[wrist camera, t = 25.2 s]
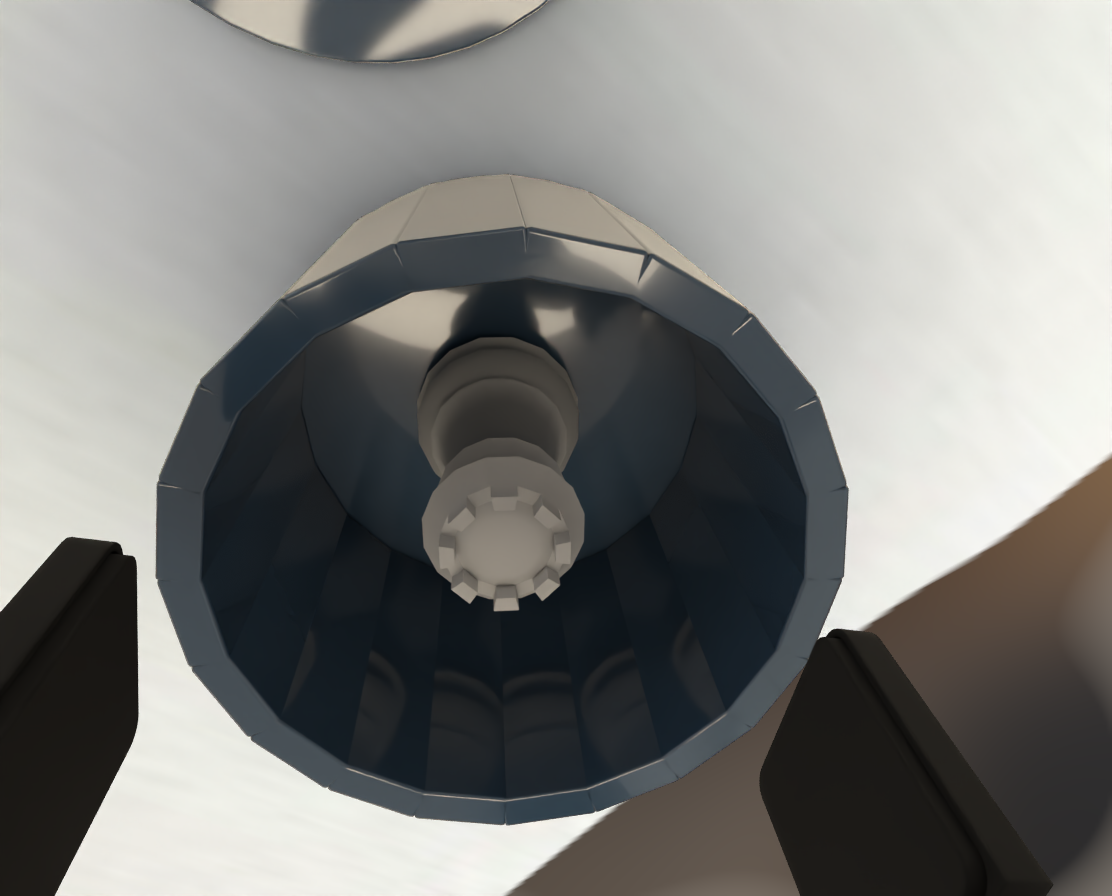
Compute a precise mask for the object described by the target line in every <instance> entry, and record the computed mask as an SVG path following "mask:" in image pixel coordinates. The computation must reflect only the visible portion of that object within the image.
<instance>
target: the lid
mask: <svg viewBox="0 0 1112 896" xmlns="http://www.w3.org/2000/svg"><path fill="white" fill-rule="evenodd" d="M190 1H191V2H193V3H194V4H196V5H198V6H199V7H201V8H203V9H204V10H206V11H208V12H209V13H211V14H213V15H214V16H216V17H218V18H219V19H221V20H223V21H224V22H226V23H228V24H229V25H231V26H233V27H235V28H237V29H240V30H242V31H244V32H246V33H249V34H251V35H253V36H255V37H258V38H260V39H262V40H264V41H267V42H269V43H271V44H274V45H278V46H281V47H284V48H288V49H291V50H294V51H298V52H301V53H304V54H308V55H311V56H316V57H322V58H328V59H334V60H341V61H347V62H354V63H402V62H409V61H417V60H424V59H432V58H436V57H439V56H443V55H446V54H450V53H453V52H457V51H460V50H464V49H467V48H470V47H473V46H475V45H477V44H479V43H481V42H484V41H486V40H488V39H490V38H493V37H495V36H497V35H499V34H501V33H504V32H505V31H507V30H509V29H510V28H512V27H513V26H515V25H516V24H518V23H520V22H521V21H523V20H524V19H526V18H527V17H529V16H530V15H532V14H534V13H535V12H537V11H538V10H539V9H540V8H542V7H543V6H544V5H545V4H546V3H548V2H549V1H550V0H190Z"/></svg>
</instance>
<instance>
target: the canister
mask: <svg viewBox="0 0 1112 896" xmlns="http://www.w3.org/2000/svg"><path fill="white" fill-rule="evenodd" d="M494 337H514V338H516V339H519V340H522V341H524V342H527V343H529V344H532V345H534V346H537V347H540V348H542V349H544V350H545V351H546V352H547V353H548V354H549V355H550V356H551V357H552V358H553V359H554V360H555V361H557V362H558V363H559V364H560V365H561V366H562V367H563V368H564V369H565V370H566V372H567V374H568V376H569V379H570V381H571V384H572V386H573V388H574V391H575V393H576V396H577V398H578V409H579V420H578V441H577V443H576V445H575V447H574V449H573V451H572V454H571V456H570V458H569V460H568V462H567V464H566V467H565V469H564V470H563V471H562V472H561V473H562V475H563V477H564V480H565V481H566V482H567V483H568V484H569V485H571V486H572V487H573V489H574V491H575V493H576V496H577V498H578V500H579V502H580V505H581V507H582V509H583V511H584V514H585V516H584V543H583V545H582V547H581V549H580V551H579V553H578V555H577V557H576V559H575V561H574V563H573V565H572V567H571V568H570V569H569V570H568V571H567V572H566V573H564V574H563V575H562V576H561V577H560V578H559V580H560V586H559V587H558V588H557V589H555V590H554V591H553V592H552V593H551V594H550V595H549V596H548V597H546V598H545V599H544V600H543V601H542V600H541V599H540V598H539V596H538V595H537V594H536V593H533V594H530V595H527V596H525V597H522V598H518V603H519V610H511V611H494V600H493V599H487V598H484V597H481V596H478V595H476V596H475V598H474V599H473V600H472V602H471V603H470V604H469V603H468V602H467V601H465V600H464V599H463V598H461V597H460V596H459V595H458V594H456V593H455V592H454V591H452V590H451V582H449V581H448V580H447V579H445V578H444V577H443V576H442V575H440V574H439V573H438V572H437V570H436V569H435V567H434V565H433V563H432V561H431V560H430V558H429V556H428V554H427V552H426V551H425V549H424V544H423V529H422V517H423V515H424V512H425V510H426V507H427V505H428V503H429V500H430V498H431V495H432V493H433V491H434V490H435V489H436V488H437V487H438V485H439V482H440V480H441V478H440V477H439V476H438V475H436V474H435V472H434V471H433V469H432V467H431V465H430V463H429V461H428V459H427V457H426V455H425V453H424V452H423V450H422V448H421V446H420V444H419V433H418V418H417V413H418V408H417V400H418V398H419V395H420V393H421V390H422V387H423V385H424V382H425V379H426V377H427V374H428V372H429V371H430V370H431V369H432V368H433V367H434V366H435V365H436V364H437V363H438V362H439V361H440V360H441V359H442V358H443V357H444V356H445V355H446V354H447V353H448V352H449V351H450V350H452V349H454V348H457V347H459V346H462V345H464V344H466V343H469V342H471V341H474V340H476V339H478V338H494ZM816 394H817V393H816V390H815V388H814V387H813V386H812V385H811V383H810V382H809V381H808V380H807V379H806V377H805V376H804V375H803V374H802V372H801V371H800V370H799V369H798V367H797V366H796V365H795V364H794V363H793V361H792V360H791V359H790V358H789V356H788V355H787V354H786V353H785V351H784V350H783V349H782V348H781V347H780V345H779V344H778V343H777V342H776V340H775V339H774V338H773V337H772V335H771V334H770V333H769V332H768V330H767V329H766V328H765V327H764V326H763V324H762V323H761V322H760V321H759V319H758V318H757V317H756V316H755V314H753V313H752V312H751V311H750V310H749V309H747V308H746V307H745V306H744V305H743V304H742V303H740V302H739V301H738V300H737V299H735V298H734V297H733V296H732V295H731V294H729V293H728V292H727V291H726V290H725V289H723V288H722V287H721V286H720V285H719V284H717V283H716V282H715V281H714V280H712V279H711V278H710V277H709V276H708V275H706V274H705V273H704V272H703V271H702V270H700V269H699V268H698V267H697V266H695V265H694V264H693V263H692V262H691V261H689V260H688V259H687V258H686V257H685V256H683V255H682V254H681V253H680V252H679V251H677V250H676V249H675V248H674V247H672V246H671V245H670V244H669V243H668V242H666V241H665V240H664V239H663V238H662V237H660V236H659V235H658V234H657V233H656V232H654V231H653V230H652V229H651V228H649V227H648V226H646V225H644V224H643V223H641V222H639V221H638V220H636V219H634V218H633V217H631V216H629V215H628V214H626V213H625V212H623V211H621V210H620V209H618V208H616V207H615V206H613V205H612V204H610V203H608V202H607V201H605V200H603V199H601V198H599V197H598V196H596V195H594V194H593V193H591V192H587V191H585V190H584V189H579V188H574V187H570V186H567V185H563V184H560V183H556V182H553V181H549V180H544V179H537V178H530V177H523V176H518V175H509V174H503V175H482V176H474V177H467V178H459V179H452V180H448V181H444V182H436V183H431V184H430V185H426V186H424V187H421V188H419V189H417V190H415V191H413V192H410V193H408V194H406V195H403V196H401V197H399V198H397V199H394V200H392V201H390V202H388V203H387V204H385V205H383V206H382V207H380V208H378V209H376V210H374V211H372V212H370V213H368V214H366V215H364V216H362V217H361V218H360V219H357V220H356V221H355V222H354V223H353V224H352V225H351V226H350V227H349V228H348V229H347V230H346V231H345V233H344V234H343V235H342V236H341V237H340V238H339V239H338V240H337V241H336V242H335V243H334V244H333V245H332V246H331V247H330V248H329V249H328V250H327V251H326V252H325V253H324V254H323V255H322V256H321V257H320V258H319V259H318V260H317V261H316V262H315V263H314V264H313V265H312V266H311V267H310V268H309V269H308V270H307V271H306V272H305V273H304V274H303V275H302V276H301V277H300V278H299V279H298V280H297V281H296V282H295V283H294V284H293V285H292V286H291V287H290V288H289V289H288V290H287V291H286V292H285V293H284V294H283V295H282V296H281V297H280V298H279V299H278V300H277V301H276V302H275V303H274V304H273V305H272V307H271V308H270V309H269V310H268V311H267V312H266V313H265V314H264V315H263V316H262V317H261V318H260V319H259V320H258V321H257V322H256V323H255V324H254V325H253V326H252V327H251V328H250V329H249V330H248V331H247V332H246V333H245V334H244V335H243V336H242V337H241V338H240V339H239V340H238V341H237V342H236V343H235V344H234V345H233V346H232V347H231V348H230V349H229V350H228V351H227V353H226V354H225V355H224V356H223V357H222V358H221V359H220V360H219V361H218V362H217V363H216V364H215V365H214V366H213V367H212V368H211V369H210V370H209V371H208V372H207V373H206V374H205V375H204V376H203V377H202V378H201V379H200V383H199V384H198V385H197V386H196V389H195V391H194V393H193V396H192V398H191V401H190V403H189V405H188V408H187V410H186V412H185V415H184V417H183V419H182V422H181V424H180V427H179V429H178V431H177V434H176V436H175V438H174V441H173V443H172V445H171V448H170V450H169V453H168V455H167V457H166V460H165V462H164V464H163V467H162V469H161V471H160V474H159V481H158V482H157V498H156V579H158V587H159V589H160V592H161V594H162V597H163V600H164V602H165V605H166V608H167V610H168V613H169V616H170V618H171V621H172V623H173V626H174V629H175V631H176V634H177V637H178V639H179V642H180V644H181V647H182V650H183V652H184V655H185V658H186V660H187V663H188V665H189V666H190V667H192V671H193V673H194V674H195V675H196V676H197V677H198V679H199V680H200V681H201V682H202V683H203V685H204V686H205V687H206V688H207V689H208V690H209V692H210V693H211V694H212V695H213V696H214V698H215V699H216V700H217V701H218V702H219V704H220V705H221V706H222V707H223V708H224V709H225V711H226V712H227V713H228V714H229V715H230V717H231V718H232V719H233V720H234V721H235V722H236V724H237V725H238V726H239V727H240V728H241V730H242V731H243V732H244V733H245V734H246V736H248V737H251V740H252V741H253V742H254V743H256V744H257V745H259V746H260V747H262V748H263V749H265V750H267V751H268V752H270V753H271V754H273V755H274V756H276V757H277V758H279V759H280V760H282V761H283V762H285V763H287V764H288V765H290V766H291V767H293V768H294V769H296V770H297V771H299V772H300V773H302V774H303V775H305V776H307V777H308V778H310V779H311V780H313V781H314V782H316V783H317V784H319V785H320V786H322V787H324V788H327V787H328V789H329V790H331V791H334V792H337V793H340V794H343V795H346V796H349V797H352V798H355V799H358V800H361V801H364V802H367V803H370V804H373V805H376V806H379V807H382V808H386V809H389V810H392V811H395V812H398V813H401V814H404V815H407V816H410V817H413V816H414V815H415V817H416V818H421V819H433V820H445V821H458V822H470V823H482V824H495V825H504V824H506V825H515V824H522V823H528V822H535V821H542V820H549V819H556V818H563V817H569V816H576V815H583V814H590V813H594V812H595V811H596V812H598V811H601V810H604V809H606V808H609V807H611V806H614V805H616V804H619V803H621V802H624V801H627V800H629V799H632V798H634V797H637V796H639V795H642V794H644V793H647V792H650V791H652V790H655V789H657V788H660V787H662V786H665V785H667V784H670V783H673V782H675V781H677V780H679V778H683V777H684V776H685V775H687V774H689V773H690V772H691V771H693V770H694V769H696V768H697V767H698V766H700V765H701V764H703V763H704V762H705V761H707V760H708V759H710V758H711V757H713V756H714V755H715V754H717V753H718V752H720V751H721V750H723V749H724V748H726V747H727V746H728V745H730V744H731V743H733V742H734V741H735V740H737V739H738V738H740V737H741V736H742V735H744V734H745V733H747V732H748V731H749V730H751V728H753V727H755V726H756V724H757V723H758V722H759V721H760V719H761V718H762V717H763V716H764V715H765V713H766V712H767V711H768V710H769V709H770V707H771V706H772V705H773V704H774V702H776V700H777V699H778V698H779V696H780V695H781V694H782V693H783V692H784V691H785V689H786V688H787V687H788V686H789V685H790V683H791V682H792V681H793V680H794V679H795V677H796V676H797V675H798V674H799V673H800V671H801V670H802V669H803V668H804V667H805V665H806V663H807V661H808V658H809V656H810V654H811V652H812V649H813V647H814V645H815V643H816V641H817V640H818V637H819V635H820V633H821V630H822V628H823V625H824V623H825V620H826V618H827V616H828V613H829V611H830V608H831V606H832V604H833V601H834V599H835V596H836V594H837V591H838V589H839V587H840V584H841V582H842V578H843V577H844V564H845V546H846V528H847V509H848V491H849V488H848V487H847V486H846V478H845V475H844V472H843V469H842V466H841V463H840V460H839V457H838V453H837V450H836V447H835V444H834V441H833V438H832V435H831V432H830V429H829V425H828V422H827V419H826V416H825V413H824V410H823V407H822V404H821V401H820V398H819V397H818V396H817V395H816Z"/></svg>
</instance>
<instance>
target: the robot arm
mask: <svg viewBox="0 0 1112 896" xmlns="http://www.w3.org/2000/svg"><path fill="white" fill-rule="evenodd" d="M137 724H138V631H137V565H136V560H135V557H133V556H128V555H123V552H122V548H121V545H120V544H119V543H117V542H109V541H101V540H92V539H84V538H76V537H69V538H66V539H65V540H64V541H63V542H61V544H60V545H59V546H58V547H57V548H56V549H55V550H54V552H53V553H52V554H51V555H50V556H49V557H48V558H47V560H46V561H45V562H44V563H43V564H42V565H41V566H40V568H39V569H38V570H37V571H36V572H35V573H34V574H33V576H32V577H31V578H30V579H29V580H28V581H27V582H26V584H25V585H24V586H23V587H22V588H21V589H20V590H19V592H18V593H17V594H16V595H15V596H14V597H13V598H12V600H11V601H10V602H9V603H8V604H7V605H6V606H5V608H4V609H3V610H2V611H1V612H0V896H55V894H56V892H57V890H58V888H59V886H60V884H61V882H62V880H63V878H64V876H65V874H66V872H67V870H68V868H69V866H70V864H71V863H72V861H73V859H74V857H75V855H76V853H77V851H78V849H79V847H80V845H81V843H82V841H83V839H84V837H85V835H86V833H87V831H88V829H89V827H90V825H91V823H92V821H93V819H94V817H95V815H96V813H97V812H98V810H99V808H100V806H101V804H102V802H103V800H104V798H105V796H106V794H107V792H108V790H109V788H110V786H111V784H112V782H113V780H114V778H115V776H116V774H117V772H118V770H119V768H120V766H121V764H122V762H123V761H124V759H125V757H126V755H127V753H128V751H129V749H130V747H131V744H132V742H133V739H134V736H135V733H136V729H137ZM760 792H761V795H762V799H763V801H764V804H765V806H766V809H767V811H768V814H769V816H770V819H771V822H772V824H773V827H774V829H775V832H776V834H777V837H778V839H779V842H780V845H781V847H782V850H783V852H784V855H785V857H786V860H787V862H788V865H789V867H790V870H791V872H792V875H793V878H794V880H795V883H796V885H797V888H798V891H799V893H800V896H1046V895H1047V893H1048V892H1049V890H1050V889H1051V888H1052V886H1053V883H1052V882H1051V881H1050V879H1049V878H1048V876H1047V875H1046V873H1045V872H1044V871H1043V869H1042V868H1041V866H1040V865H1039V864H1038V862H1037V861H1036V859H1035V858H1034V856H1033V855H1032V854H1031V852H1030V851H1029V849H1028V848H1027V847H1026V845H1025V844H1024V842H1023V841H1022V839H1021V838H1020V837H1019V835H1018V834H1017V832H1016V831H1015V830H1014V828H1013V827H1012V826H1011V824H1010V822H1009V821H1008V820H1007V818H1006V817H1005V815H1004V814H1003V813H1002V811H1001V810H1000V808H999V807H998V806H997V804H996V803H995V801H994V800H993V798H992V797H991V796H990V795H989V793H988V791H987V790H986V788H985V787H984V786H983V784H982V783H981V781H980V780H979V779H978V777H977V776H976V774H975V773H974V772H973V770H972V769H971V767H970V766H969V764H968V763H967V762H966V760H965V759H964V758H963V756H962V754H961V753H960V752H959V750H958V749H957V747H956V746H955V745H954V743H953V742H952V740H951V739H950V737H949V736H948V735H947V733H946V732H945V730H944V729H943V728H942V726H941V725H940V723H939V722H938V720H937V719H936V718H935V716H934V715H933V714H932V712H931V711H930V709H929V708H928V706H927V705H926V703H925V702H924V701H923V699H922V698H921V696H920V695H919V694H918V692H917V691H916V689H915V688H914V687H913V685H912V684H911V682H910V681H909V679H908V678H907V677H906V675H905V674H904V672H903V671H902V669H901V668H900V667H899V665H898V664H897V662H896V661H895V660H894V658H893V657H892V655H891V654H890V652H889V651H888V650H887V648H886V647H885V645H884V644H883V643H882V641H881V640H880V639H879V638H878V637H877V636H876V635H875V634H873V633H870V632H862V631H854V630H845V629H833V630H831V631H830V632H829V633H828V634H827V636H826V637H821V638H819V639H818V640H817V641H816V643H815V645H814V647H813V649H812V652H811V654H810V656H809V659H808V661H807V663H806V666H805V668H804V670H803V673H802V675H801V678H800V680H799V682H798V684H797V687H796V689H795V691H794V694H793V696H792V699H791V701H790V703H789V705H788V708H787V710H786V713H785V715H784V717H783V719H782V722H781V724H780V726H779V729H778V731H777V733H776V736H775V738H774V740H773V743H772V745H771V747H770V750H769V752H768V755H767V757H766V759H765V761H764V764H763V766H762V769H761V772H760Z"/></svg>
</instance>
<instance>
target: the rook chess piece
mask: <svg viewBox="0 0 1112 896" xmlns="http://www.w3.org/2000/svg"><path fill="white" fill-rule="evenodd" d="M417 408H418V413H417V418H418V433H419V444H420V446H421V448H422V450H423V452H424V453H425V455H426V457H427V459H428V461H429V463H430V465H431V467H432V469H433V471H434V472H435V474H436V475H438V476H439V477H440V478H441V480H440V482H439V485H438V487H437V488H436V489H435V490H434V491H433V493H432V495H431V498H430V500H429V503H428V505H427V507H426V510H425V512H424V515H423V517H422V529H423V544H424V549H425V551H426V552H427V554H428V556H429V558H430V560H431V561H432V563H433V565H434V567H435V569H436V570H437V572H438V573H439V574H440V575H442V576H443V577H444V578H445V579H447V580H448V581H449V582H451V590H452V591H454V592H455V593H456V594H458V595H459V596H460V597H461V598H463V599H464V600H465V601H467V602H468V603H469V604H470V603H471V602H472V600H473V599H474V598H475V596H476V595H478V596H481V597H484V598H487V599H493V600H494V611H511V610H519V603H518V598H522V597H525V596H527V595H530V594H533V593H536V594H537V595H538V596H539V598H540V599H541V600H542V601H543V600H544V599H545V598H546V597H548V596H549V595H550V594H551V593H552V592H553V591H554V590H555V589H557V588H558V587H559V586H560V580H559V578H560V577H561V576H562V575H563V574H564V573H566V572H567V571H568V570H569V569H570V568H571V567H572V565H573V563H574V561H575V559H576V557H577V555H578V553H579V551H580V549H581V547H582V545H583V543H584V516H585V514H584V511H583V509H582V507H581V505H580V502H579V500H578V498H577V496H576V493H575V491H574V489H573V487H572V486H571V485H569V484H568V483H567V482H566V481H565V480H564V477H563V475H562V473H561V472H562V471H563V470H564V469H565V467H566V464H567V462H568V460H569V458H570V456H571V454H572V451H573V449H574V447H575V445H576V443H577V441H578V420H579V409H578V398H577V396H576V393H575V391H574V388H573V386H572V384H571V381H570V379H569V376H568V374H567V372H566V370H565V369H564V368H563V367H562V366H561V365H560V364H559V363H558V362H557V361H555V360H554V359H553V358H552V357H551V356H550V355H549V354H548V353H547V352H546V351H545V350H544V349H542V348H540V347H537V346H534V345H532V344H529V343H527V342H524V341H522V340H519V339H516V338H514V337H494V338H478V339H476V340H474V341H471V342H469V343H466V344H464V345H462V346H459V347H457V348H454V349H452V350H450V351H449V352H448V353H447V354H446V355H445V356H444V357H443V358H442V359H441V360H440V361H439V362H438V363H437V364H436V365H435V366H434V367H433V368H432V369H431V370H430V371H429V372H428V374H427V377H426V379H425V382H424V385H423V387H422V390H421V393H420V395H419V398H418V400H417Z"/></svg>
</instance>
